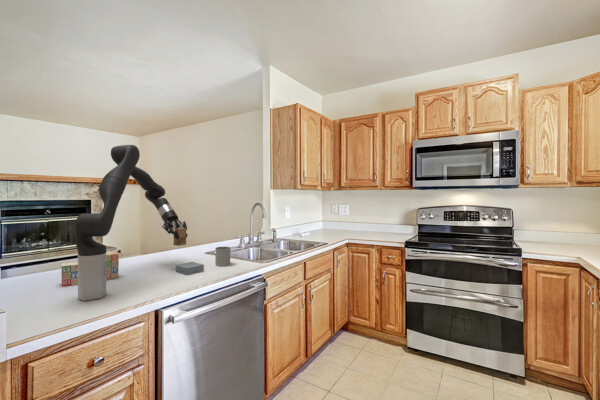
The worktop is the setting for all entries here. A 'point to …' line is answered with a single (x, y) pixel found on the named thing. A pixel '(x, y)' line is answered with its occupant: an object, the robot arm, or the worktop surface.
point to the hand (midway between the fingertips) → (182, 237)
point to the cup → (222, 256)
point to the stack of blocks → (71, 270)
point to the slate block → (189, 268)
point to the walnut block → (182, 238)
